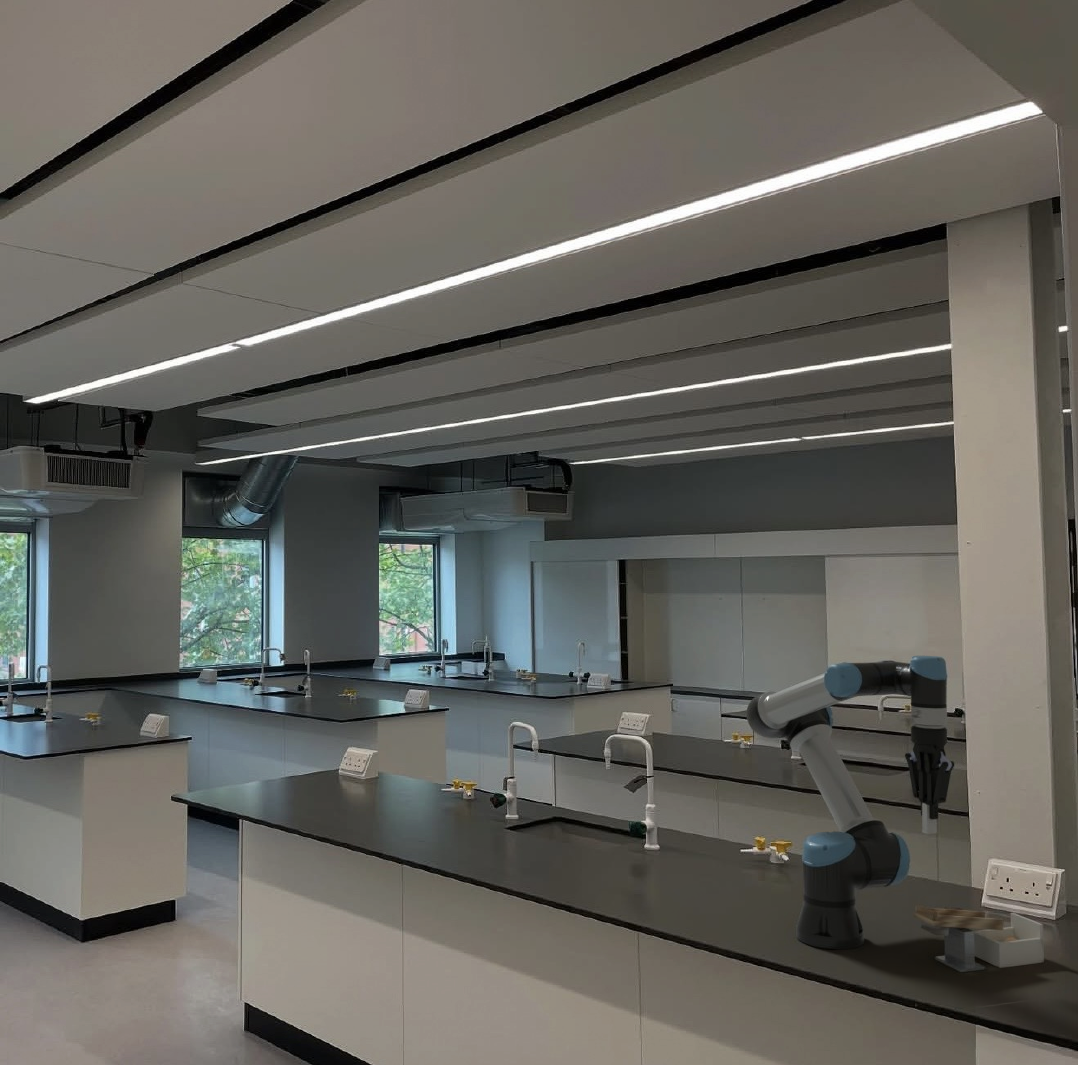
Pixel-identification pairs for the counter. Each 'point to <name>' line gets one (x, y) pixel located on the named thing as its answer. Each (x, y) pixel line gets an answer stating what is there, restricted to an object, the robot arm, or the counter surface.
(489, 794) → the counter surface
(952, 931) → the fulcrum
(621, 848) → the counter surface
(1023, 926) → the grey open bin
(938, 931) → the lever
